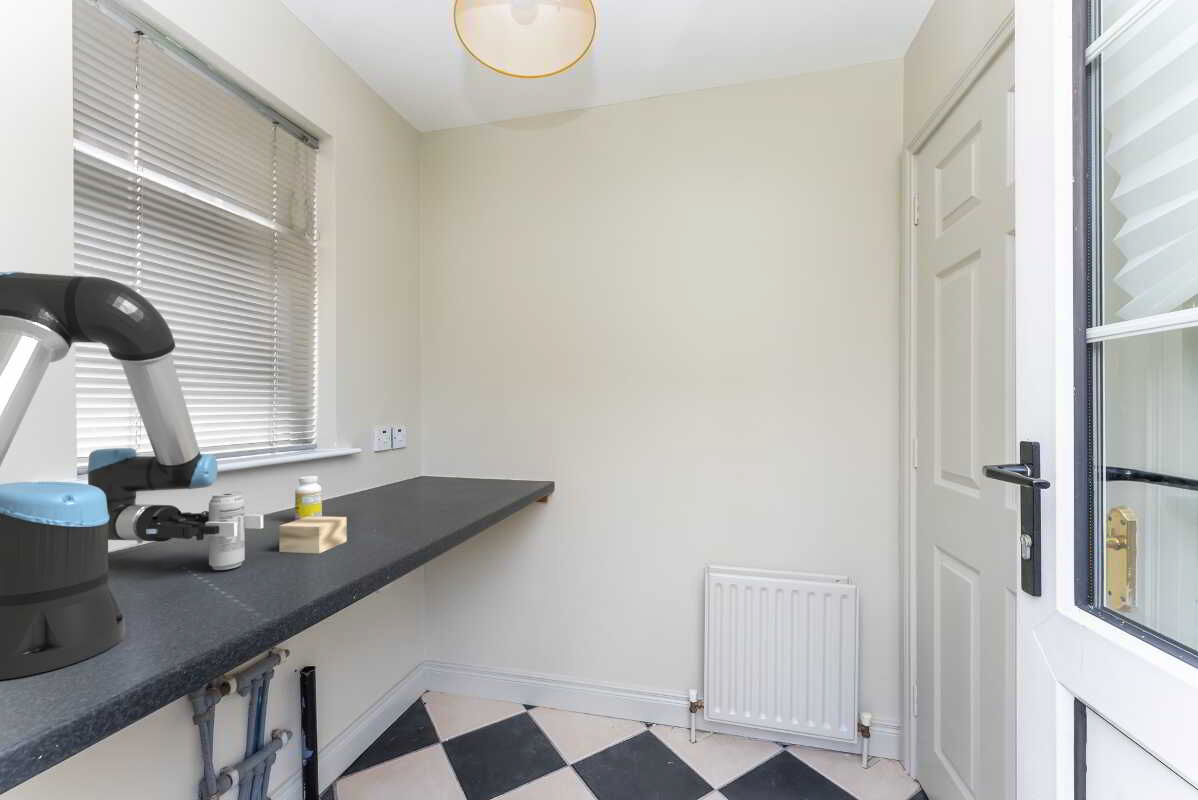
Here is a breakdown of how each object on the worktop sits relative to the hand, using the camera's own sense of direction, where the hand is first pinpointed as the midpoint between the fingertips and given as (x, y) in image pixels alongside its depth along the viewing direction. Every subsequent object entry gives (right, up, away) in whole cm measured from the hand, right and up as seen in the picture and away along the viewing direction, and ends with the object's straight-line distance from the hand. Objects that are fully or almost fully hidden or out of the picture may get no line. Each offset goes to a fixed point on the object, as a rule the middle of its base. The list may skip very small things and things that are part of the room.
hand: (249, 525), depth 107 cm
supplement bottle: (-11, -9, +42) cm, 44 cm away
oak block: (+4, -9, +17) cm, 19 cm away
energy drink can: (-5, -9, +1) cm, 10 cm away
